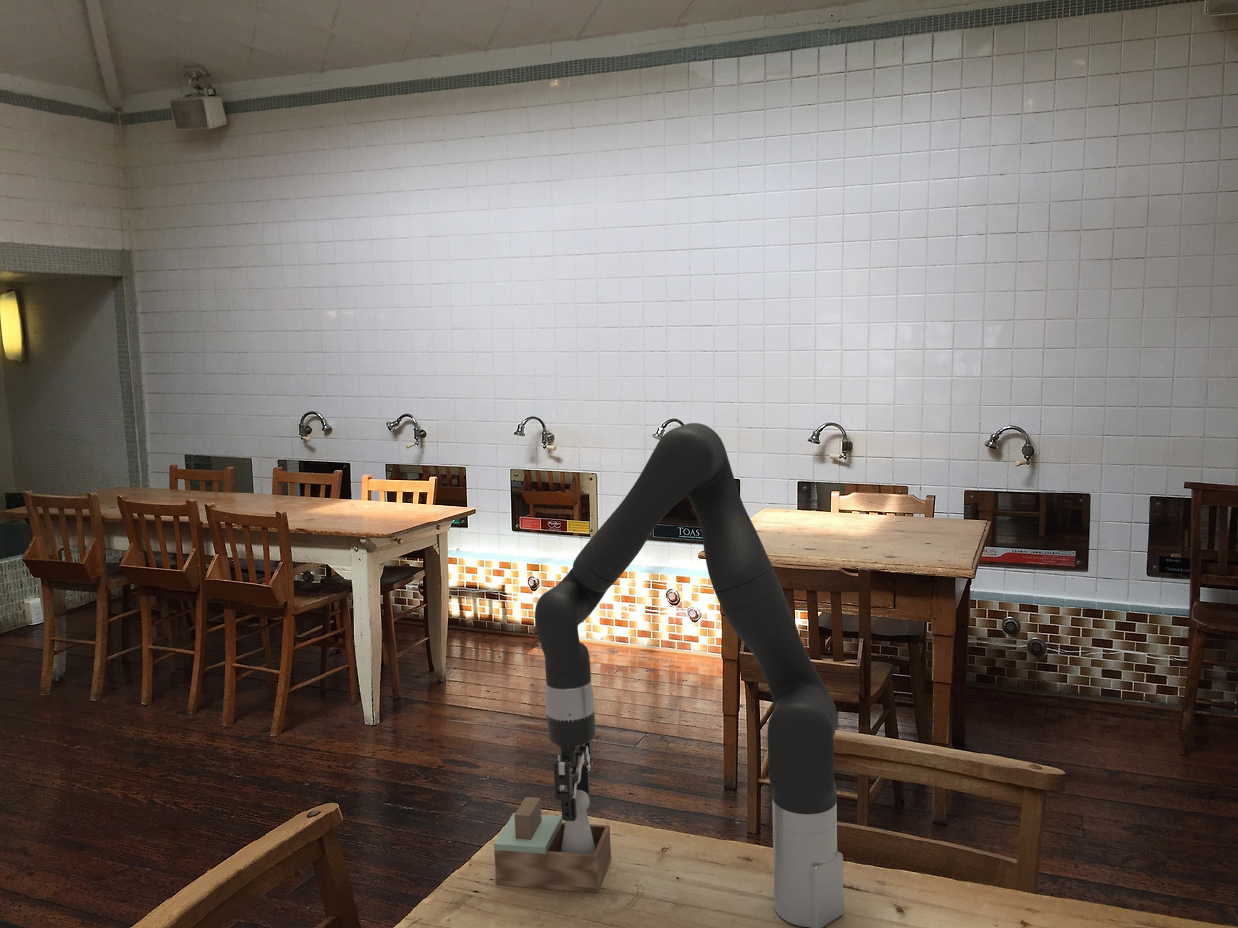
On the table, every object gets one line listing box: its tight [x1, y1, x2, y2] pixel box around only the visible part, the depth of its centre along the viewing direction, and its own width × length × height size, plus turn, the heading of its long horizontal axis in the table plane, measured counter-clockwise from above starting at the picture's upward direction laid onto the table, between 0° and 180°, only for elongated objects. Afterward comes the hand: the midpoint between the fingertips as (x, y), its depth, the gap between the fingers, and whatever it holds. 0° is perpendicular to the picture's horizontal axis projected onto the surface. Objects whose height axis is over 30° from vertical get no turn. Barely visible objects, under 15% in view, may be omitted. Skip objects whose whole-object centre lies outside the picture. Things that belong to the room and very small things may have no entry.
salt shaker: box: [561, 790, 595, 854], centre depth 150 cm, size 6×6×13 cm
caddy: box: [493, 821, 612, 894], centre depth 151 cm, size 17×10×6 cm, turn 78°
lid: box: [493, 796, 563, 854], centre depth 151 cm, size 8×10×5 cm
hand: (576, 806), depth 149 cm, fingers open, 8 cm apart
